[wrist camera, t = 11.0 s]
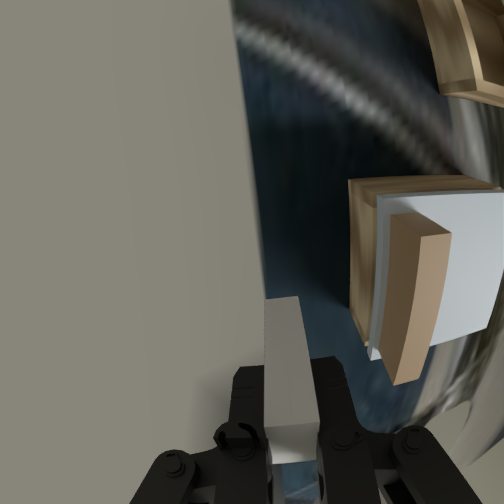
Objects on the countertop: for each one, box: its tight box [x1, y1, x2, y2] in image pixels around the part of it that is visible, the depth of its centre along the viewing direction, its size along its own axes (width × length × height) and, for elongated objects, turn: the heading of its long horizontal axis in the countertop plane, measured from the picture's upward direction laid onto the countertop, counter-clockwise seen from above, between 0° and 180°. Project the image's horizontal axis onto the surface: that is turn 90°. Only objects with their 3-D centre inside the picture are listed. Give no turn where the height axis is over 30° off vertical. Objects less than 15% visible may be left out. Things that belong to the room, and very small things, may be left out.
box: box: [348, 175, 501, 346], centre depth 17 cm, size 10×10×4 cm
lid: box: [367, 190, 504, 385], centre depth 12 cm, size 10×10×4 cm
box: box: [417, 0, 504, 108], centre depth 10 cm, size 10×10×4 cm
